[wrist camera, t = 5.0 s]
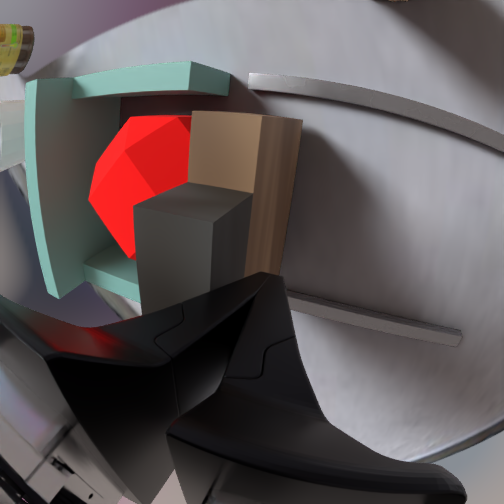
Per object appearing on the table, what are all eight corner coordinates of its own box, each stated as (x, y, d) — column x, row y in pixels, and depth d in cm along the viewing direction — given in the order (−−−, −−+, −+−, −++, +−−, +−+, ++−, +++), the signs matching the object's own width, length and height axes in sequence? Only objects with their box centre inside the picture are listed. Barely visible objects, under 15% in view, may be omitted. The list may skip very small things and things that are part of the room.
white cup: (48, 80, 20) (-10, 86, 14) (69, 130, 22) (6, 143, 16) (23, 124, 24) (-27, 136, 18) (42, 171, 25) (-11, 190, 19)
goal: (230, 73, 16) (154, 51, 9) (214, 281, 23) (157, 347, 16) (109, 80, 19) (25, 83, 12) (111, 250, 25) (48, 292, 19)
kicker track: (524, 147, 12) (530, 148, 11) (454, 340, 18) (456, 346, 18) (253, 74, 16) (249, 72, 15) (232, 287, 23) (228, 292, 22)
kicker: (303, 119, 15) (221, 113, 6) (278, 276, 20) (208, 408, 10) (261, 114, 16) (133, 111, 6) (244, 267, 20) (154, 386, 11)
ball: (135, 167, 21) (57, 193, 15) (205, 93, 17) (126, 86, 11) (196, 250, 22) (134, 304, 16) (280, 190, 18) (235, 231, 12)
